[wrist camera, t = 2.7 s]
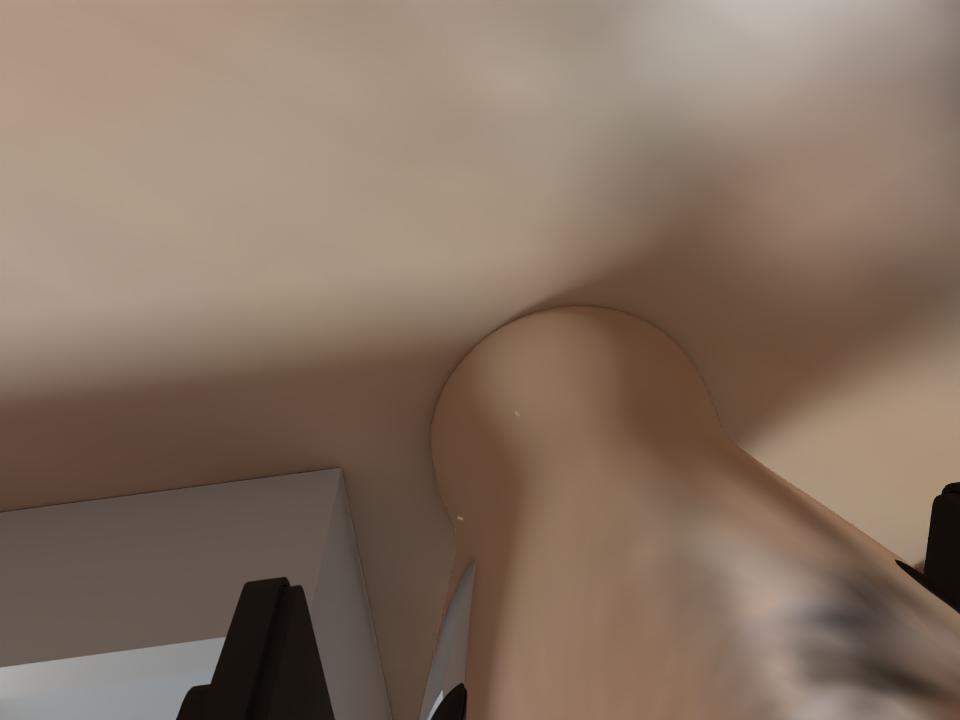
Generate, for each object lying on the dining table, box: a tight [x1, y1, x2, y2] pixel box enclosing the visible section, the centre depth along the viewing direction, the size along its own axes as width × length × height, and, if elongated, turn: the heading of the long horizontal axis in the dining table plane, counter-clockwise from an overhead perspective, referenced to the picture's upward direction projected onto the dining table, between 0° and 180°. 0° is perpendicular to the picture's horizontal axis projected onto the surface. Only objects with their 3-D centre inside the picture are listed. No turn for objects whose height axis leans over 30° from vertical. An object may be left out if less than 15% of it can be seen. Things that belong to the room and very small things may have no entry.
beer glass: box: [419, 306, 960, 720], centre depth 9 cm, size 7×7×15 cm
